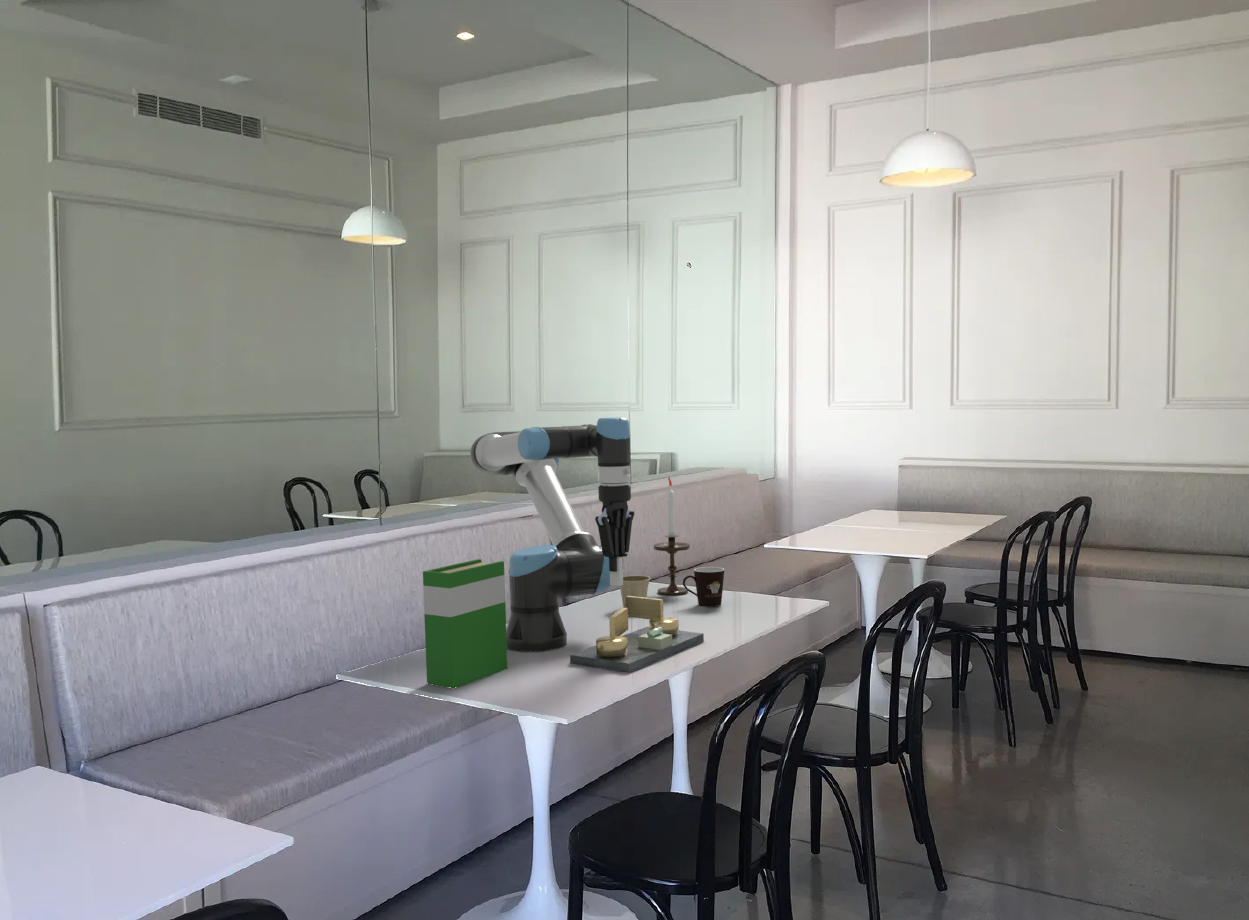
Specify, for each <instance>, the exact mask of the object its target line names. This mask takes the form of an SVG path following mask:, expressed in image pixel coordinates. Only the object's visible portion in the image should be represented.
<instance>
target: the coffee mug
mask: <svg viewBox="0 0 1249 920" xmlns="http://www.w3.org/2000/svg"><path fill="white" fill-rule="evenodd" d="M693 574H694V575H687V576H685V577H684V578H683V579H682V585H683V588H686V589H687V590H688V593H691V594H692V595H694V596H696V598H697V603H698V606H699V607H704V608H716V607H720V606H722V600H723V589H724V580H725V579H724V577H725V568H723V567H719V566H717V567H716V566H702V567H696V568H694V569H693ZM689 578H692V579H693V581H694V582H695V589H696V590H695V591H696V592H694V591H692V590H691V589H689V588H688V587H687V585H686V581H687V580H688V579H689Z"/></svg>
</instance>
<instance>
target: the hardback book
mask: <svg viewBox="0 0 1249 920" xmlns="http://www.w3.org/2000/svg"><path fill="white" fill-rule="evenodd" d="M505 576H506V575H505V561H503V560H499V561H495V562H491V563H487V562H482V558H481V559H480V558H476V559H473V560H468V561H464V562H463V561H462V562H460V563H454V564H450V565H446V566H441V567H436V568H431V569H428V570H423V571H422V584H423V585H422V586H423V611H424V612H423V613H424V615H423V616H424V637H425V638H424V640H425V642H424V643H425V644H424V645H425V665H426V667H425V668H426V684H427V683H428V684H433V685H432V686H434V685H438V686H437V687H440V686H443V687H442V688H445V687H451V688H455V687H457V688H460V687H463V686H466V685H468V684H470V683H472V682H473V681H474V682H476V681H479V680H482V679H484V678H487V677H489V676H492V675H495V674H498V673H501V672H504V671H506V670H508V648H507V637H506V629H507V610H506V607H507V606H506V584H505V583H506V581H505ZM428 684H427V685H428ZM451 688H450V689H451ZM455 689H456V688H455Z"/></svg>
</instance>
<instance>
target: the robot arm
mask: <svg viewBox="0 0 1249 920" xmlns="http://www.w3.org/2000/svg"><path fill="white" fill-rule="evenodd" d="M597 419H598V420H597V422H596V425H595V424H580V425H567V426H564V425H563V426H544V427H543V426H542V427H541V426H540V427H539V426H535V427H532V426H531V427H527V428H526V427H525V428H523V429H521V430H519V431H518V430H516V431H495V432H489V433H486V434H482V435H481V436H479V437H478V438H477V439H475V440H474V441H473V443H472V445H471V447H470V452H469V454H470V456H469V457H470V460H471V463H472V464H473V466H474V467H475V468H476V469H477V470H478V471H479V472H482V473H483V474H486V475H491V476H510V475H511V476H512V475H513V476H514V478H515V480H516V482H517V484H518V485H520V486H521V487H525V488H526V491H527V493H528V495H529V497H530V499H531V501H532V503H533V506H534V508H535V509H536V512H537V514H538V516H539V518H540V520H541V522H542V524H543V527H544V530H545V531H546V533H547V535H548V537H549V540H550V542H551V544H542V545H533V546H529V547H525V548H524V547H523V548H521V549H518V550H516V551H514V553H512V554H511V555H510V557H509V563H508V565H509V566H508V577H509V579H508V580H509V582H508V583H509V600H510V603H509V604H510V605H509V606H510V613H509V614H510V615H509V619H508V621H507V624H506V637H507V650H508V649H509V650H510V651H511V650H513V651H520V652H542V651H550V650H555V649H559V648H562V647H564V646H566V645H567V644H568V634H567V633H568V632H567V631H566V628H565V627H566V626H564V625H565V624H564V622H563V619H562V617H561V614H560V607H559V605H560V603H559V601H560V600H559V599H564V598H570V597H571V598H572V597H577V596H587V595H588V596H589V595H593V596H594V595H597V594H600V593H604V592H606V591H608V590H609V589H610V588H611V586H618V587H620V586H621V585H623V576H624V557H628V553H629V551H630V544H631V535H632V526H633V520H634V517H635V511H633V510H630V509H629V506H628V502H629V501H631V499H632V489H631V488H632V487H631V485H630V484H629V483H631V432H630V422H629V419H628V418H626V417H615V416H614V417H600V418H597ZM587 457H588V458H589V457H590V458H593V457H595V458H597V482H598V484H600V485H599V486H598V487H597V489H598V501H600V502H601V503H602V507H601V514H600V515H599V516H598V515H597V516H595V517H594V521H595V523H596V525H597V530H598V534H599V540H600V545H599V544H598V543H597V541H596V539H595V536H593V535H592V534H590V533H589V532H585V531H584V529H583V527H582V524H581V523H580V521H579V519H578V516H577V515H576V512H575V511H574V509H573V506H572V505H571V503H570V500H569V498H568V497H567V496H568V495H567V494H566V492H565V490H564V489H563V487H562V484H561V482H560V480H559V478H558V477H557V474H556V471H557V467H558V465H559V461H560V459H573V458H574V459H575V458H587Z"/></svg>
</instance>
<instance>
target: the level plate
mask: <svg viewBox="0 0 1249 920" xmlns="http://www.w3.org/2000/svg"><path fill="white" fill-rule="evenodd" d="M662 633H663V628H662V627H658V628H655V629H652V630H650V626H646V627H643V628H640V629H637V630H635V631H632V632H629V633H626V634H624V635H623V634H622V635H621V636H622V637H625V638H627V645H628V653H627V654H625V655H622V656H616V657H605V656H599V655H597V654H596V645H592V646H590V647H587V648H584V649H583V650H579V651H577V652H574V653H571V654H569V664H571V665H576V666H583V667H590V668H596V669H602V670H610V671H616V672H623V673H629V674H630V673H632V672H634V671H637V670H640V669H641V668H642V669H643V668H644V667H646V666H649V665H652V664H653V663H656V662H658V661H661V660H663V659H665V658H668V657H670V656H673V655H675V654H677V653H680V652H682V651H685V650H687V649H689V648H692V647H695V646H698V645H699V644H702V643H704V641H705V640H704V639H705V638H704V637H705V636H704V633H702V632H695V631H687V630H679V633H678V634H677V635H673V636H672V635H669V634H662Z"/></svg>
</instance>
